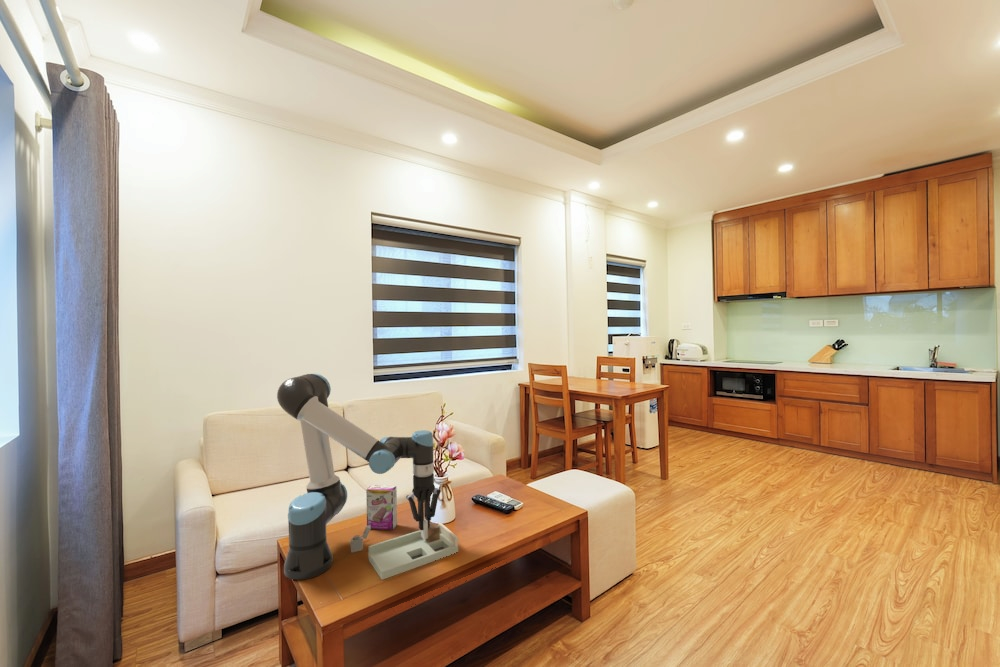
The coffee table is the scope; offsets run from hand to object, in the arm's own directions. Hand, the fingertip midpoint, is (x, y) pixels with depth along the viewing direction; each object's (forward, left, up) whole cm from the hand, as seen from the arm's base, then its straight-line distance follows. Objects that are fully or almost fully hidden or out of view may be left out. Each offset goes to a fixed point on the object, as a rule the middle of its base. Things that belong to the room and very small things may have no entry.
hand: (424, 537), depth 155 cm
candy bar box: (-7, +25, -4) cm, 26 cm away
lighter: (-19, +13, -4) cm, 24 cm away
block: (+3, 0, -1) cm, 3 cm away
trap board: (-5, -3, -4) cm, 7 cm away
